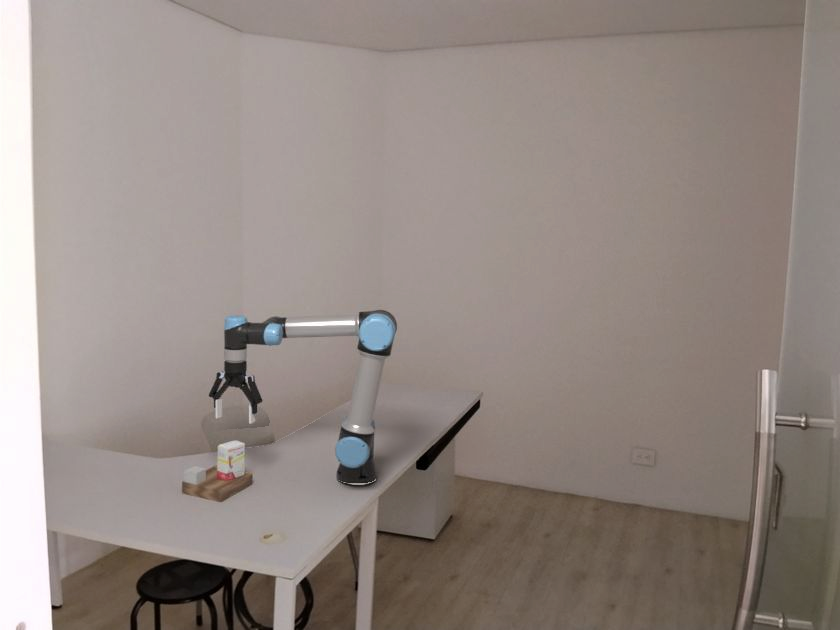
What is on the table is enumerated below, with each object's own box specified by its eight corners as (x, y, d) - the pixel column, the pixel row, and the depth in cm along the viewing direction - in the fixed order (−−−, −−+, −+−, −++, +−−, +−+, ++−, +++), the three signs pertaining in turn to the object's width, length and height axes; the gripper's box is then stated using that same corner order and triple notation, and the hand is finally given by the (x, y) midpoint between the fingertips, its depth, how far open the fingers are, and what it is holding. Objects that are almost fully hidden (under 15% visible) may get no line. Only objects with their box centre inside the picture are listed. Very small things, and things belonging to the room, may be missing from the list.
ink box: (225, 481, 248) (226, 448, 246) (216, 478, 251) (216, 445, 249) (245, 475, 255) (245, 442, 253) (235, 471, 258) (236, 439, 256)
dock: (252, 484, 257) (252, 473, 257) (221, 502, 241) (221, 490, 240) (214, 476, 263) (215, 465, 262) (182, 493, 246) (182, 481, 246)
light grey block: (205, 479, 249) (205, 468, 248) (196, 484, 244) (196, 473, 244) (193, 477, 251) (193, 466, 250) (184, 481, 246) (184, 470, 245)
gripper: (272, 362, 249) (272, 421, 252) (211, 354, 257) (211, 412, 260) (261, 366, 242) (260, 427, 245) (198, 358, 250) (198, 417, 253)
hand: (235, 420), depth 253 cm, fingers open, 13 cm apart
